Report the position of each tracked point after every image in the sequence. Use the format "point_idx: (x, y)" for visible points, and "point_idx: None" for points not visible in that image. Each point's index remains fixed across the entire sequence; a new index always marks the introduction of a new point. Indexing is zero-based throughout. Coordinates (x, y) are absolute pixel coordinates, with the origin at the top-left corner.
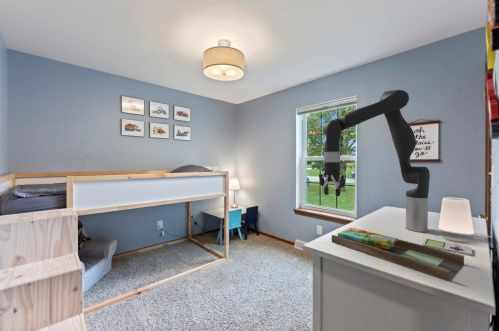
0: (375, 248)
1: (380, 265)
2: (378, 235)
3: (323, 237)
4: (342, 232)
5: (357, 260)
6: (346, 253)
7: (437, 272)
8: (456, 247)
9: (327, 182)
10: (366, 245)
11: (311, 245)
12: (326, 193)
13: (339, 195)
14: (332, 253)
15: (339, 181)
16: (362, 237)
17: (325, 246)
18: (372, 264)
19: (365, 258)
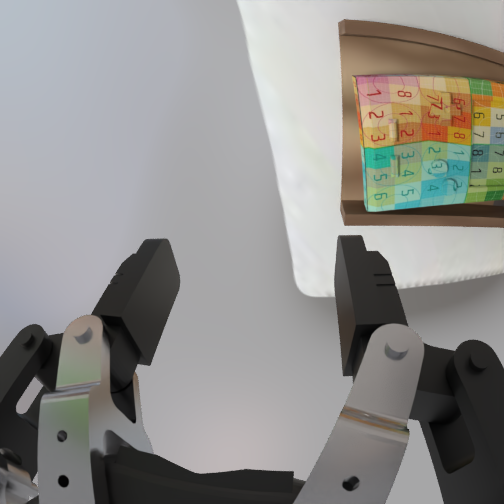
0: (500, 224)
1: (498, 252)
2: (498, 102)
3: (281, 190)
4: (381, 193)
5: (455, 269)
6: (422, 255)
7: None
8: None
9: (140, 446)
10: (478, 222)
11: (310, 285)
12: (173, 286)
13: (360, 235)
14: None
15: (397, 472)
16: (466, 193)
17: None
18: (485, 261)
19: (469, 244)
